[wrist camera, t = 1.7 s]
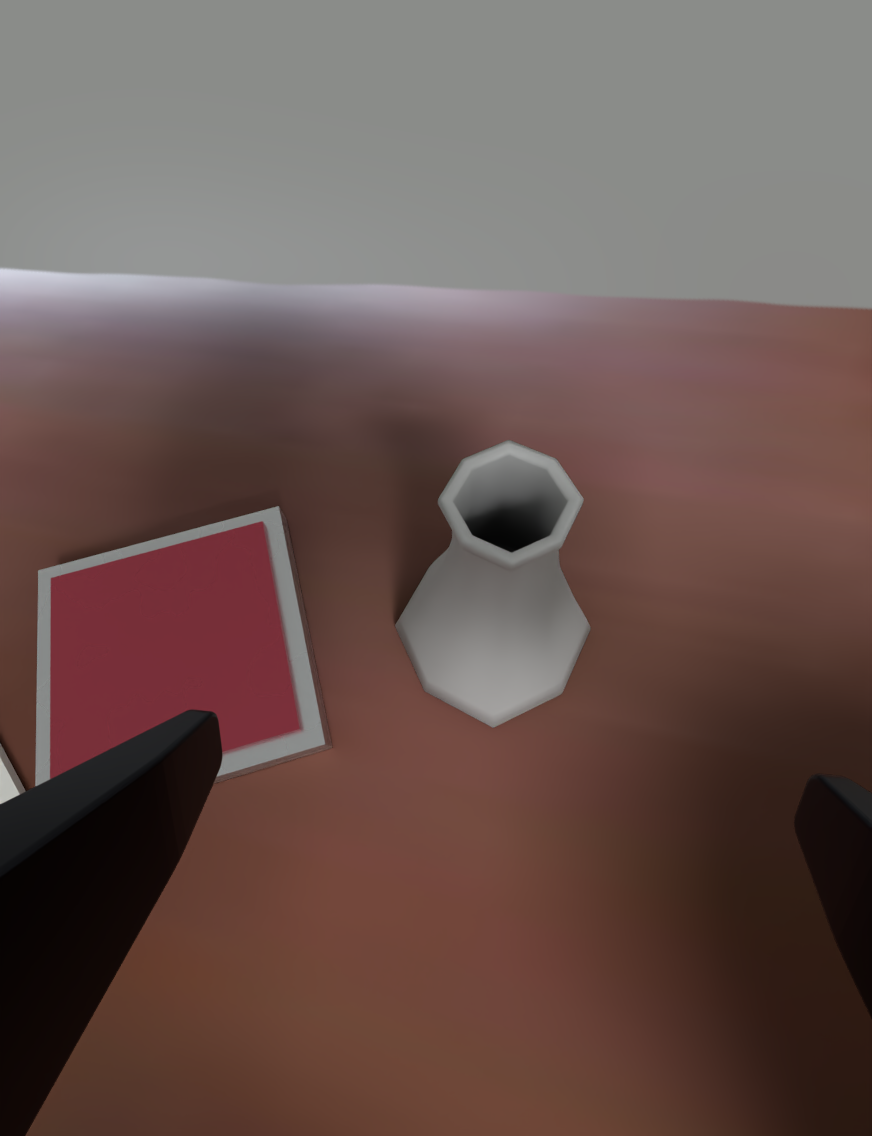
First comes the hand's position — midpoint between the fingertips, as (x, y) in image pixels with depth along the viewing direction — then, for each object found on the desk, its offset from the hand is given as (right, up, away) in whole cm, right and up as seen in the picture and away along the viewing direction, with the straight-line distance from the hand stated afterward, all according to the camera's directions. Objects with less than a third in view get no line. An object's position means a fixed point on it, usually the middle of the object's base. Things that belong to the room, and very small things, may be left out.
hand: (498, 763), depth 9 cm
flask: (+1, 0, +14) cm, 14 cm away
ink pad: (-11, -1, +14) cm, 17 cm away
